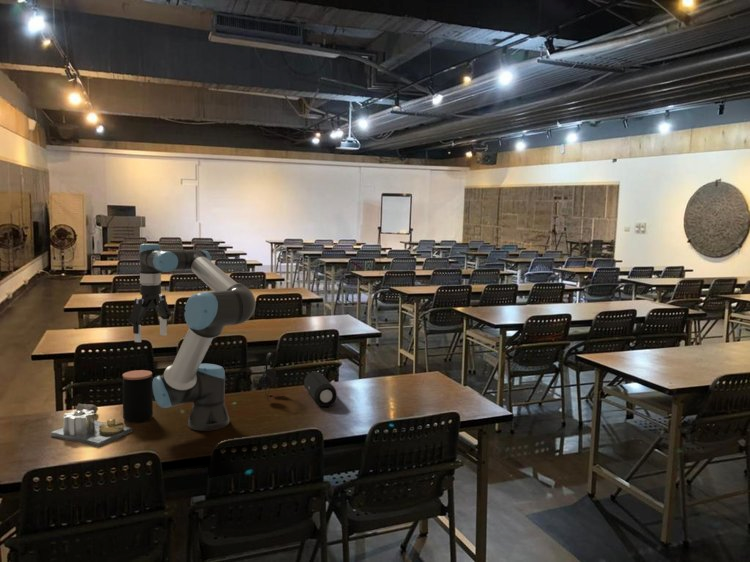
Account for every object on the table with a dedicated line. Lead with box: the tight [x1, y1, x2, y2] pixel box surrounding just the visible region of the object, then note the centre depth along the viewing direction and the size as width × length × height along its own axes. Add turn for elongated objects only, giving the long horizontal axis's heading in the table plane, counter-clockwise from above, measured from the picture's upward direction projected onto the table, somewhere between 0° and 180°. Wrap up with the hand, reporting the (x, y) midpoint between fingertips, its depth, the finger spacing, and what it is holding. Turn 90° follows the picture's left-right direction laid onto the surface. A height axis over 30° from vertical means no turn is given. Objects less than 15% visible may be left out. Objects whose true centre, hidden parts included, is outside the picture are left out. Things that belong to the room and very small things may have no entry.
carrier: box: [50, 410, 133, 448], centre depth 200 cm, size 22×15×8 cm
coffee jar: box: [122, 369, 154, 424], centre depth 217 cm, size 11×11×18 cm
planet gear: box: [62, 409, 96, 435], centre depth 200 cm, size 10×10×6 cm
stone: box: [75, 403, 99, 416], centre depth 217 cm, size 10×8×6 cm
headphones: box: [258, 352, 277, 399], centre depth 248 cm, size 15×11×20 cm
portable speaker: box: [303, 370, 337, 407], centre depth 249 cm, size 26×10×10 cm, turn 20°
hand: (151, 338), depth 216 cm, fingers open, 13 cm apart
